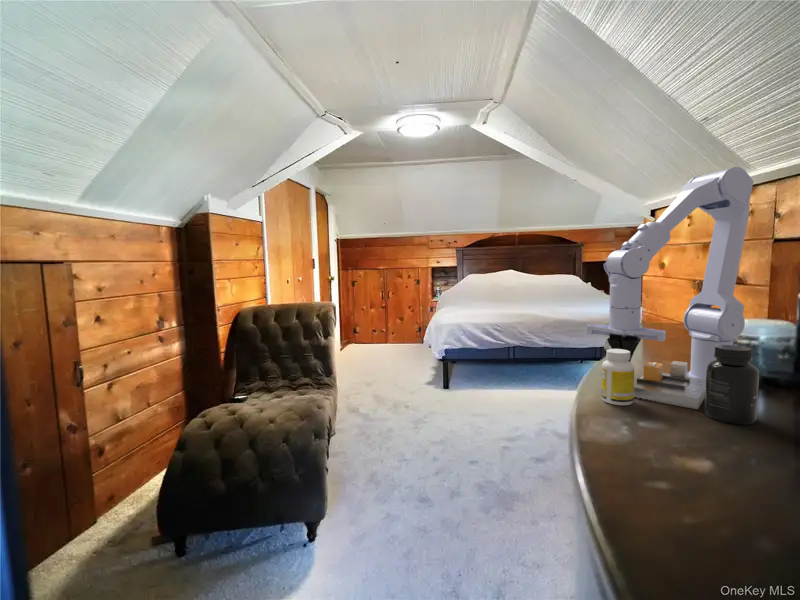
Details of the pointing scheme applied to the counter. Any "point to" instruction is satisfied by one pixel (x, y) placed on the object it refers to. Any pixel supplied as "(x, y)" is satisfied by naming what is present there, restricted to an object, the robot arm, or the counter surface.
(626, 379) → the supplement bottle
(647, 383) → the strip
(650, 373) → the orange cuboid
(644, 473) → the counter surface
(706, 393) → the supplement bottle
